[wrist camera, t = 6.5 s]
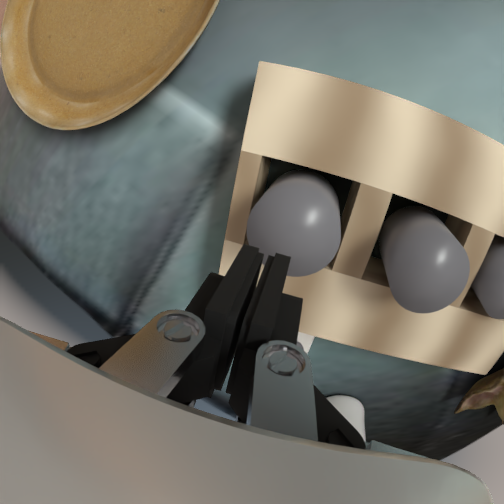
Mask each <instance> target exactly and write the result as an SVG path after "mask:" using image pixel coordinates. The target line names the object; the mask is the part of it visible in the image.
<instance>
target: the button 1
mask: <svg viewBox="0 0 504 504" xmlns="http://www.w3.org/2000/svg"><path fill="white" fill-rule="evenodd" d="M247 239H248V243H249V245H250V246H254V247H257V248H259V252H260V253H263V254H264V257H263V261H262V264H263V265H264V266H265V263H266V261H267V258H268V256H269V255H271V256H274V257H275V254H276V253H279V254H283V255H286V256H290V257H291V259H290V263H289V268H288V272H287V276H291V277H301V276H307V275H311V274H314V273H316V272H318V271H320V270H322V269H323V268H324V267H326V266H327V265H328V264H329V263H330V262H331V261H332V259H333V258H334V257H335V255H336V253H337V251H338V249H339V245H340V240H341V225H340V210H339V200H338V196H337V193H336V191H335V189H334V187H333V186H332V184H331V183H330V182H329V181H328V180H327V179H326V178H324V177H323V176H321V175H320V174H318V173H316V172H313V171H309V170H293V171H289V172H287V173H285V174H283V175H281V176H280V177H278V178H277V179H276V180H275V181H274V182H273V183H272V185H271V186H270V187H269V188H268V190H267V191H266V192H265V193H264V194H263V196H262V197H261V198H260V199H259V201H258V202H257V203H256V204H255V206H254V207H253V209H252V210H251V213H250V215H249V218H248V221H247Z"/></svg>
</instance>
